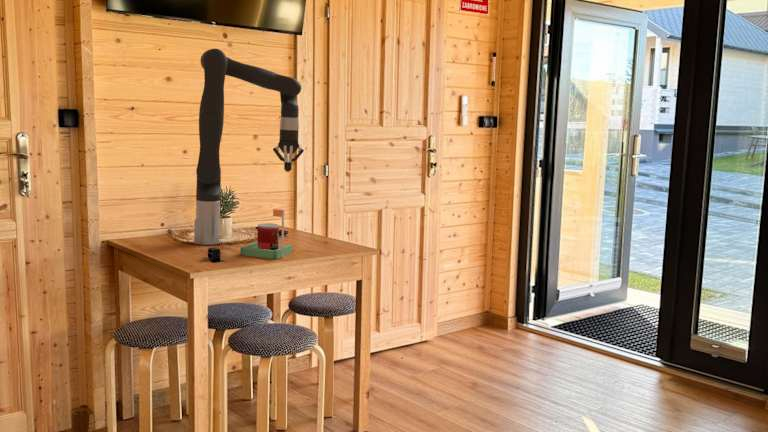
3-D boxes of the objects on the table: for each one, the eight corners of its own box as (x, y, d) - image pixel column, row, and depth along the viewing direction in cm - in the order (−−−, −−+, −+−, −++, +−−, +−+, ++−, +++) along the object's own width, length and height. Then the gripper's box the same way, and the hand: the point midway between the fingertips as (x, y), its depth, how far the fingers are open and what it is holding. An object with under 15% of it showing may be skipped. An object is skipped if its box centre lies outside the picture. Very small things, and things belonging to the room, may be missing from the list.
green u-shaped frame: (240, 255, 264) (241, 207, 262) (257, 248, 278) (258, 202, 275) (279, 259, 260) (281, 211, 257) (295, 252, 274) (297, 206, 271)
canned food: (273, 256, 265) (274, 227, 263) (253, 254, 267) (254, 225, 265) (281, 252, 272) (282, 224, 271) (261, 250, 274) (262, 222, 272)
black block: (197, 258, 258) (197, 246, 257) (215, 256, 262) (216, 244, 262) (212, 265, 248) (212, 252, 248) (231, 263, 253) (231, 250, 252)
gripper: (271, 128, 284) (270, 171, 286) (305, 129, 285) (303, 173, 287) (273, 127, 291) (272, 169, 294) (306, 129, 292) (304, 171, 295)
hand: (287, 171), depth 290 cm, fingers closed
